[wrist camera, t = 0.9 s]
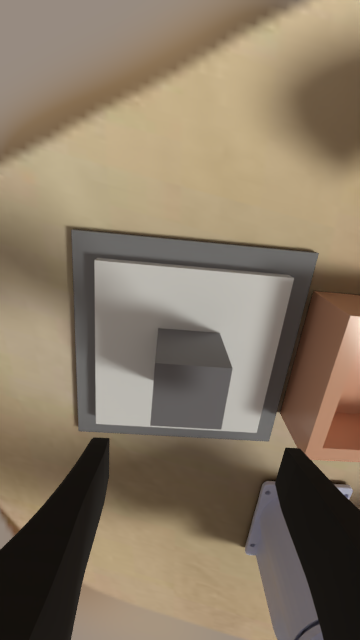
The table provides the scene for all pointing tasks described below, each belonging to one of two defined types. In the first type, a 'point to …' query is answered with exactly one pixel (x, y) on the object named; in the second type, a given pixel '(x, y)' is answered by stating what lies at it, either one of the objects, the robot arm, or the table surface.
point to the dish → (327, 380)
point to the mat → (187, 254)
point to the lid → (185, 344)
